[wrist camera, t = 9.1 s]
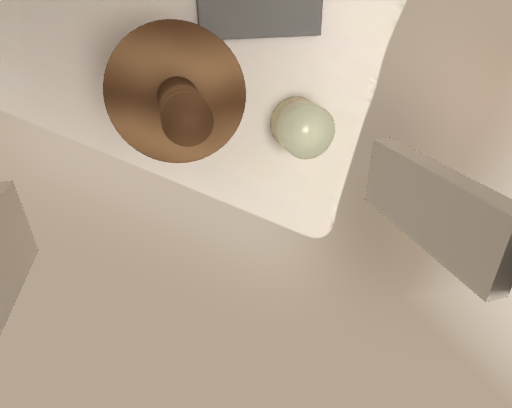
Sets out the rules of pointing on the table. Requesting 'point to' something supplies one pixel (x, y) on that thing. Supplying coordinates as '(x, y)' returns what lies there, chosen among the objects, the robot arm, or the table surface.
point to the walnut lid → (174, 91)
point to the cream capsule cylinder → (302, 127)
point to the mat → (260, 18)
